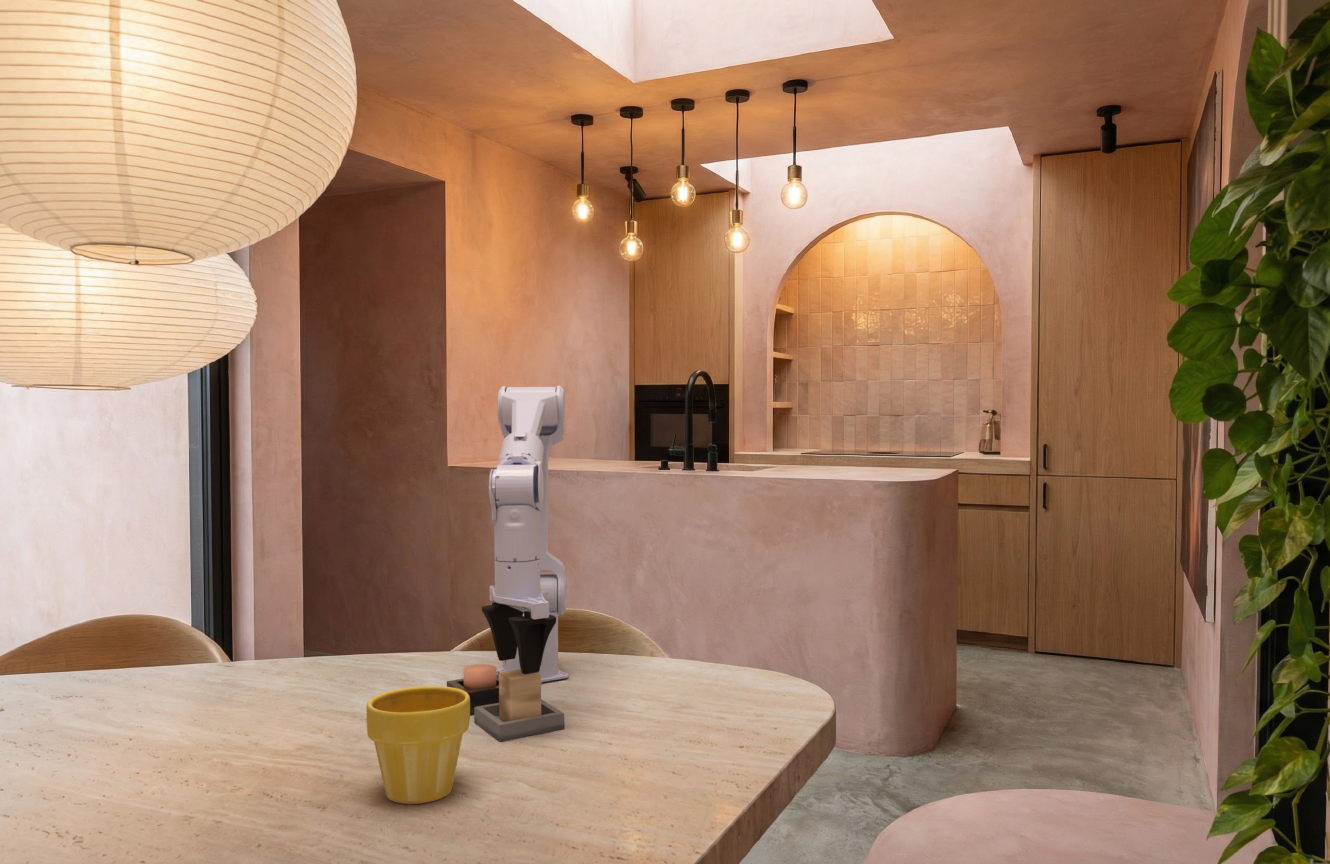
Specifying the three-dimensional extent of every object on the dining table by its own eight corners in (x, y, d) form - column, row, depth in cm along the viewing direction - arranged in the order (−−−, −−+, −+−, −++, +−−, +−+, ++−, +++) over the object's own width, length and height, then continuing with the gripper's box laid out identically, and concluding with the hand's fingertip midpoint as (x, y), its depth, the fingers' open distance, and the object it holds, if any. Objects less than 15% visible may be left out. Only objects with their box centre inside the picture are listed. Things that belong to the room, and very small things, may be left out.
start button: (459, 689, 126) (458, 667, 126) (489, 684, 128) (489, 662, 128) (470, 696, 122) (470, 674, 122) (501, 691, 125) (501, 669, 125)
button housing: (446, 702, 126) (446, 681, 126) (494, 694, 130) (494, 673, 130) (464, 716, 120) (464, 693, 120) (514, 707, 124) (514, 685, 124)
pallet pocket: (474, 722, 118) (474, 706, 118) (536, 711, 122) (536, 696, 122) (499, 741, 111) (499, 725, 111) (564, 728, 115) (564, 712, 115)
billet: (499, 719, 117) (499, 672, 117) (528, 713, 119) (527, 667, 119) (511, 727, 114) (511, 679, 114) (541, 721, 116) (540, 674, 116)
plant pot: (430, 765, 103) (429, 678, 103) (491, 788, 96) (490, 695, 96) (347, 794, 95) (346, 700, 95) (406, 821, 88) (405, 720, 88)
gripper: (571, 563, 112) (572, 673, 113) (523, 549, 125) (524, 649, 125) (517, 568, 109) (518, 682, 109) (474, 554, 121) (475, 656, 121)
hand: (518, 665), depth 117 cm, fingers open, 7 cm apart
